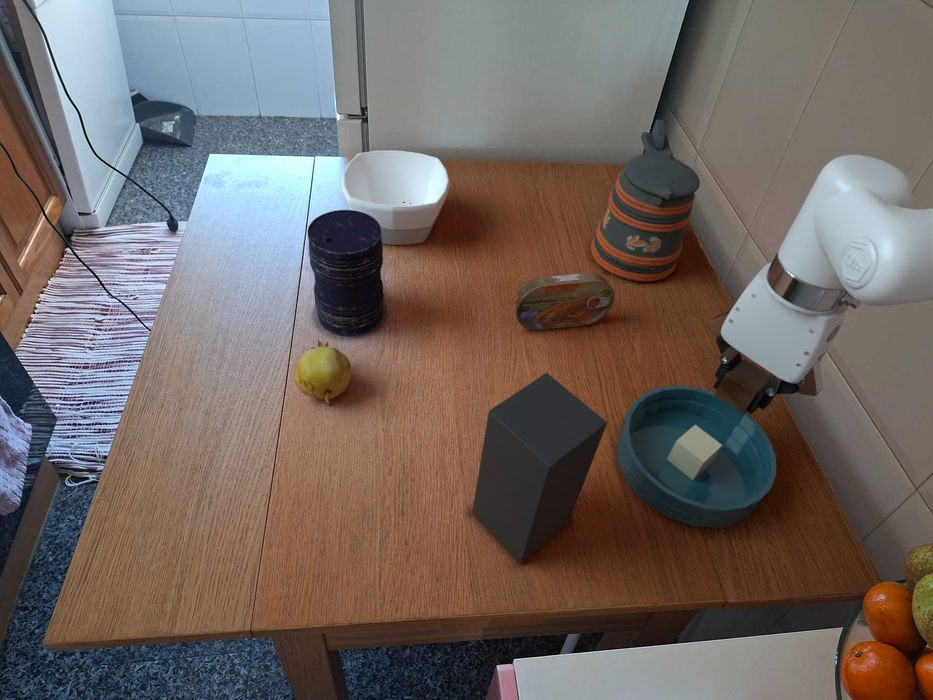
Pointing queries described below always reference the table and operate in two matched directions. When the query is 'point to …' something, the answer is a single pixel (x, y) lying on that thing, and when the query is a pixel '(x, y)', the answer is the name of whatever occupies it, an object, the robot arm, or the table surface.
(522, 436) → the stand
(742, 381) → the walnut block
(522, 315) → the tin
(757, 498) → the bowl
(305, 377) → the fruit
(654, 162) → the beer stein
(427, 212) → the bowl
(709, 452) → the cream block
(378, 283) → the storage jar
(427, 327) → the table surface
